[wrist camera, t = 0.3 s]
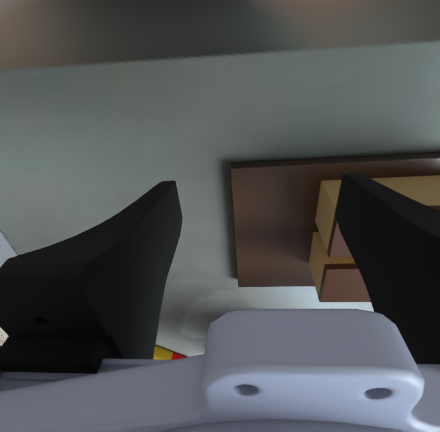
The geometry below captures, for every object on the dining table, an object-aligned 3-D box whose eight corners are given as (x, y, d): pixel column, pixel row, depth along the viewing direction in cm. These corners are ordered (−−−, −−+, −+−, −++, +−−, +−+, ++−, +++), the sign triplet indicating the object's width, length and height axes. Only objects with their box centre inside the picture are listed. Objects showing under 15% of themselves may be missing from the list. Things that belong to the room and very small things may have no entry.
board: (411, 277, 28) (416, 285, 28) (238, 279, 30) (238, 287, 29) (472, 150, 20) (482, 155, 19) (230, 163, 22) (230, 168, 21)
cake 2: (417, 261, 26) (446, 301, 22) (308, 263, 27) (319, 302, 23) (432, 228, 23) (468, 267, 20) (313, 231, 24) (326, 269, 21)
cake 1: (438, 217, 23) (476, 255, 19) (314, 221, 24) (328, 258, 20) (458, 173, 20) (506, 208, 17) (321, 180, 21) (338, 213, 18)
